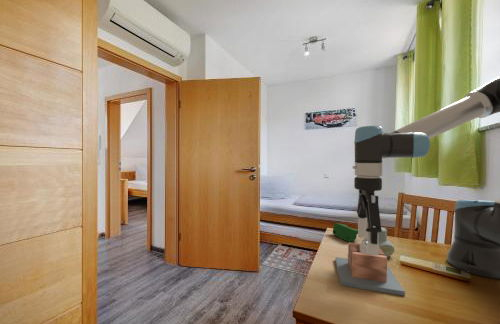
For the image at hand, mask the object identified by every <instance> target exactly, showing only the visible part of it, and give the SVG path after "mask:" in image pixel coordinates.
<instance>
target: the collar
mask: <svg viewBox="0 0 500 324" xmlns="http://www.w3.org/2000/svg"><path fill="white" fill-rule="evenodd" d="M347 247H348V248H347V259H348V265H349V268H350V271H351V273H352V277H356V278H363V279H369V280H376V281H382V282H387V266H388V256H387V257H386V256H385V254H384V253H383V251H382V250H381V249H380V247H379V255H371V254H367V253H360V243H358V242H357V243H356V242H348V245H347Z"/></svg>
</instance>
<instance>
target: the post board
mask: <svg viewBox="0 0 500 324" xmlns="http://www.w3.org/2000/svg"><path fill="white" fill-rule="evenodd" d="M335 265H336V270H337V275H338V279H339V285H340V286H343V287H348V288H355V289H362V290H367V291H373V292H374V291H375V292H379V293H386V294H391V295H398V296H404V297H405V296H406V290H405V289H404V287H403V286H402V285H401V283H400V282H399V281H398V279H397V277H396V276H395V275H394V273H393V271H392V270H391V269H390V267H389V265H387V282H382V281H376V280H369V279H363V278H356V277H352V273H351V271H350V268H349V265H348V258H345V257H335Z"/></svg>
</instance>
